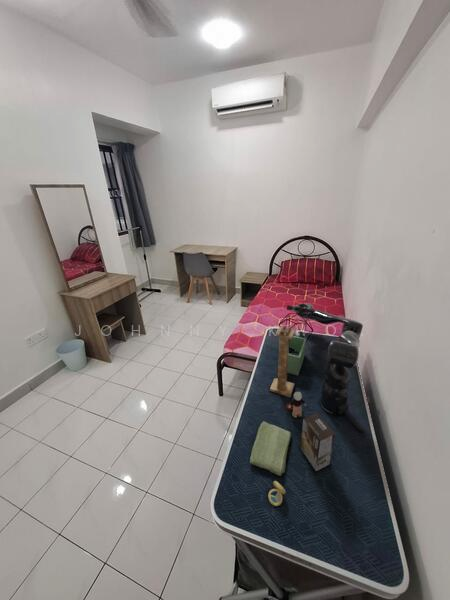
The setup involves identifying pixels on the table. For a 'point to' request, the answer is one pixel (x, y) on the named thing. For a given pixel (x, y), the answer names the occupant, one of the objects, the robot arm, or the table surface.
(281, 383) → the straw stand
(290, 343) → the bin
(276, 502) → the eyeshadow
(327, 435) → the coffee box
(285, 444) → the washcloth
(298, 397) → the grandmother figurine
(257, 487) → the table surface
